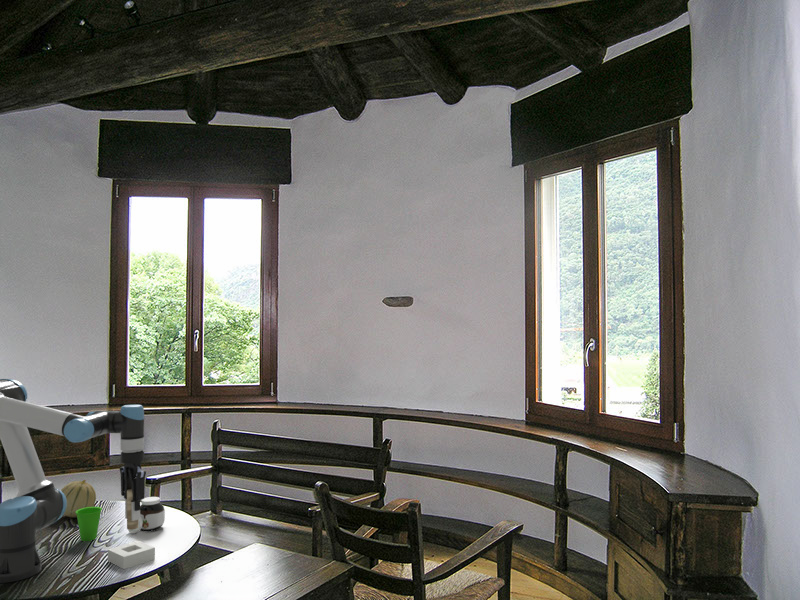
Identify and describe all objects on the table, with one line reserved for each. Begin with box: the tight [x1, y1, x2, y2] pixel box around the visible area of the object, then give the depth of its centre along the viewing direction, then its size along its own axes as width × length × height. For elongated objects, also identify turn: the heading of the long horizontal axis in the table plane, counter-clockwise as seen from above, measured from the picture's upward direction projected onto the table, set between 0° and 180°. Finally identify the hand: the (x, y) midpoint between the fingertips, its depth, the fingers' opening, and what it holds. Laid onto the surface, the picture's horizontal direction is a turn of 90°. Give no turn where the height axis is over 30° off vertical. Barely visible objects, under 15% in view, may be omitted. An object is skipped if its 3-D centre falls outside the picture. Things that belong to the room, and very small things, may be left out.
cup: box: [76, 506, 103, 542], centre depth 238 cm, size 9×9×11 cm
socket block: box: [107, 540, 156, 570], centre depth 217 cm, size 11×11×4 cm
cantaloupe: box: [60, 479, 97, 518], centre depth 266 cm, size 15×15×15 cm
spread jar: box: [127, 496, 166, 534], centre depth 248 cm, size 12×11×12 cm
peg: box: [126, 489, 138, 530], centre depth 218 cm, size 4×4×13 cm
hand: (132, 518), depth 218 cm, fingers closed on peg, 3 cm apart
